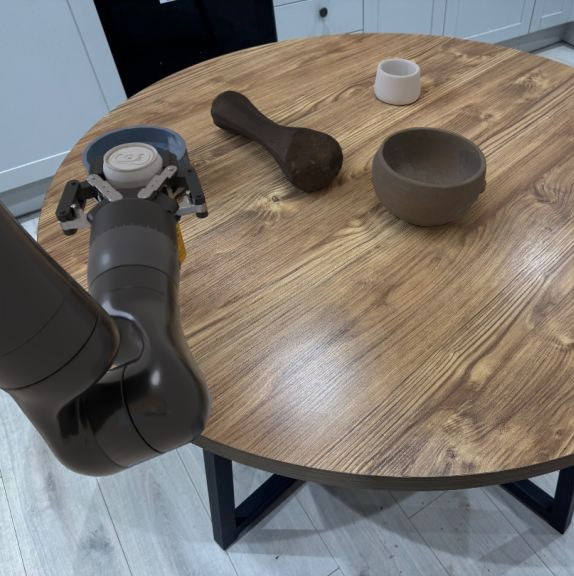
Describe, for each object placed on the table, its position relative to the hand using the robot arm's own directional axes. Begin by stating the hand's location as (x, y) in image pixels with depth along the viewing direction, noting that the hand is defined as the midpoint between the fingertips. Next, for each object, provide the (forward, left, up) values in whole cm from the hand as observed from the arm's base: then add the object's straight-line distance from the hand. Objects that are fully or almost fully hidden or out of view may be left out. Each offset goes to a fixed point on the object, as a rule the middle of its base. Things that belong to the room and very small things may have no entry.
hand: (135, 160), depth 62 cm
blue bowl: (-10, +25, -20) cm, 34 cm away
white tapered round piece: (+34, +59, -21) cm, 71 cm away
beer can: (+1, -2, -13) cm, 13 cm away
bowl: (+36, +20, -21) cm, 46 cm away
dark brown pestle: (+10, +33, -21) cm, 40 cm away
